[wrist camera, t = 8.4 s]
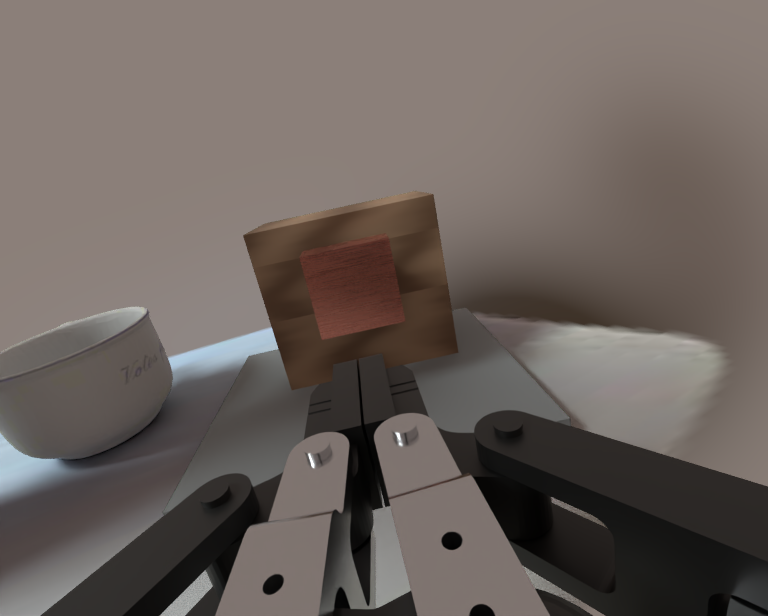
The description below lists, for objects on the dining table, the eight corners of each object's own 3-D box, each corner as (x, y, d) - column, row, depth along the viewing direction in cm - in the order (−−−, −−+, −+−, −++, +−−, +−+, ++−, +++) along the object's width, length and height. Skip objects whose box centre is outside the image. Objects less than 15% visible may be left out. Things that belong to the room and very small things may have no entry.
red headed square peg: (321, 340, 24) (299, 257, 22) (328, 297, 32) (312, 235, 31) (405, 321, 24) (388, 237, 22) (389, 284, 32) (376, 221, 31)
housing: (295, 402, 29) (243, 235, 25) (304, 360, 35) (264, 223, 32) (460, 365, 29) (433, 194, 25) (439, 330, 36) (414, 191, 32)
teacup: (186, 435, 28) (140, 327, 25) (-11, 515, 24) (-88, 396, 21) (184, 367, 40) (154, 290, 37) (55, 413, 36) (10, 330, 33)
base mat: (170, 528, 20) (162, 512, 19) (252, 365, 37) (248, 355, 36) (571, 435, 20) (570, 418, 20) (467, 317, 37) (465, 307, 37)
